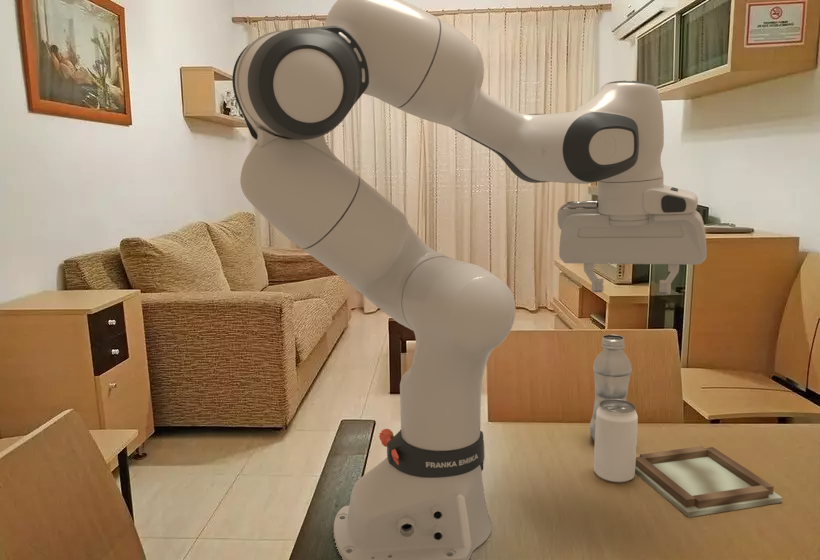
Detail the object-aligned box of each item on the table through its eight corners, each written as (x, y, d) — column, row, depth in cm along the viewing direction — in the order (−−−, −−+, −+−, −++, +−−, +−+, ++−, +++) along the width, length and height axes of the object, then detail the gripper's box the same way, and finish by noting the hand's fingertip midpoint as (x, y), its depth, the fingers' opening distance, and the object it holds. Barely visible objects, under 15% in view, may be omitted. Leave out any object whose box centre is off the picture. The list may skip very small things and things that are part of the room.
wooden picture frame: (687, 517, 90) (688, 504, 90) (626, 465, 105) (627, 454, 105) (781, 502, 93) (783, 490, 93) (709, 454, 109) (710, 443, 108)
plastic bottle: (586, 434, 118) (590, 331, 114) (624, 435, 117) (629, 332, 113) (591, 449, 111) (596, 342, 107) (631, 451, 110) (636, 343, 107)
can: (642, 481, 100) (646, 411, 98) (604, 485, 99) (607, 414, 97) (622, 462, 106) (626, 396, 104) (586, 466, 105) (589, 399, 103)
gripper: (552, 204, 91) (555, 295, 94) (708, 199, 82) (705, 300, 85) (561, 198, 96) (564, 285, 100) (708, 193, 88) (705, 288, 91)
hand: (630, 292), depth 92 cm, fingers open, 8 cm apart
